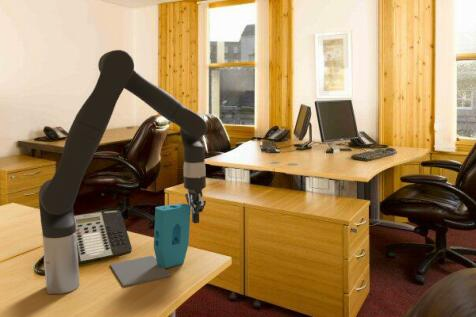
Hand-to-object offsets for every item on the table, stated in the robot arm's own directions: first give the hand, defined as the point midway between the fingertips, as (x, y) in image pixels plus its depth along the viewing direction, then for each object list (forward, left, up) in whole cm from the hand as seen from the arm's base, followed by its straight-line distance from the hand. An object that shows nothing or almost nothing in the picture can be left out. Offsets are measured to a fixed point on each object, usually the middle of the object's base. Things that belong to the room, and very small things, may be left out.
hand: (195, 222), depth 148 cm
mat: (-21, 0, -13) cm, 25 cm away
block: (-10, 0, -13) cm, 16 cm away
